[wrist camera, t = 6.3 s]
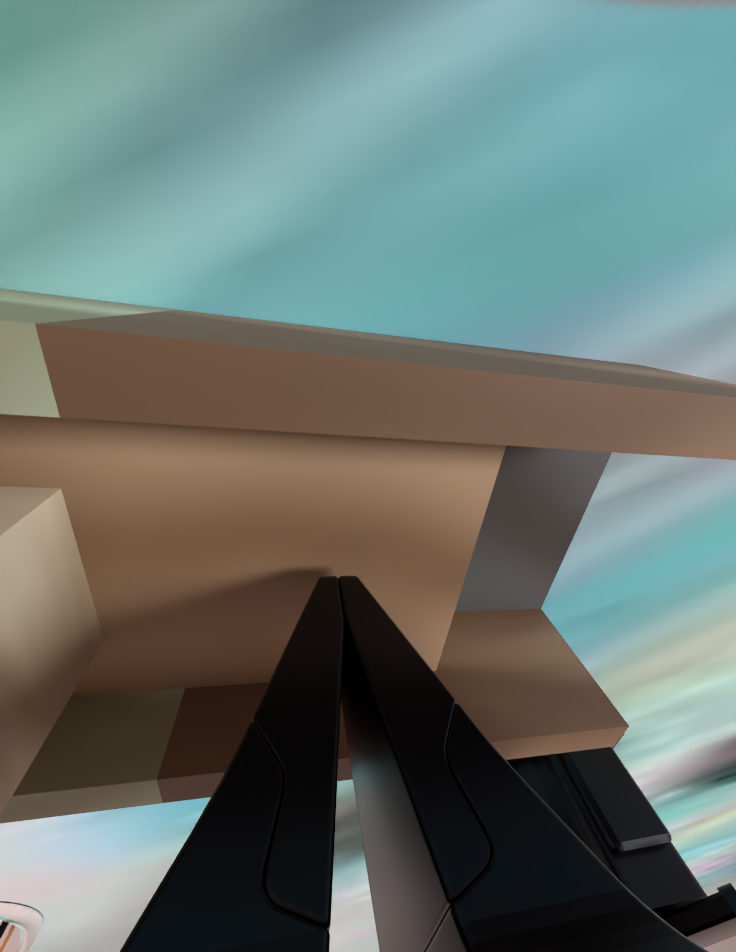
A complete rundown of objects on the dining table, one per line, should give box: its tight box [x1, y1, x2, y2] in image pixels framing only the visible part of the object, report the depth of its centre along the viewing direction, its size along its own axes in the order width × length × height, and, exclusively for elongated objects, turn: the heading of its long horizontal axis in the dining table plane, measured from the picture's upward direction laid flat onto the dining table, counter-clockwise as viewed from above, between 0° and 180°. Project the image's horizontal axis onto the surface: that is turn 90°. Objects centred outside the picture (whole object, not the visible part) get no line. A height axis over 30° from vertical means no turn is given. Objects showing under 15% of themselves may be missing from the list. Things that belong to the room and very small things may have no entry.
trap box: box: [0, 289, 736, 823], centre depth 8 cm, size 10×26×4 cm, turn 83°
